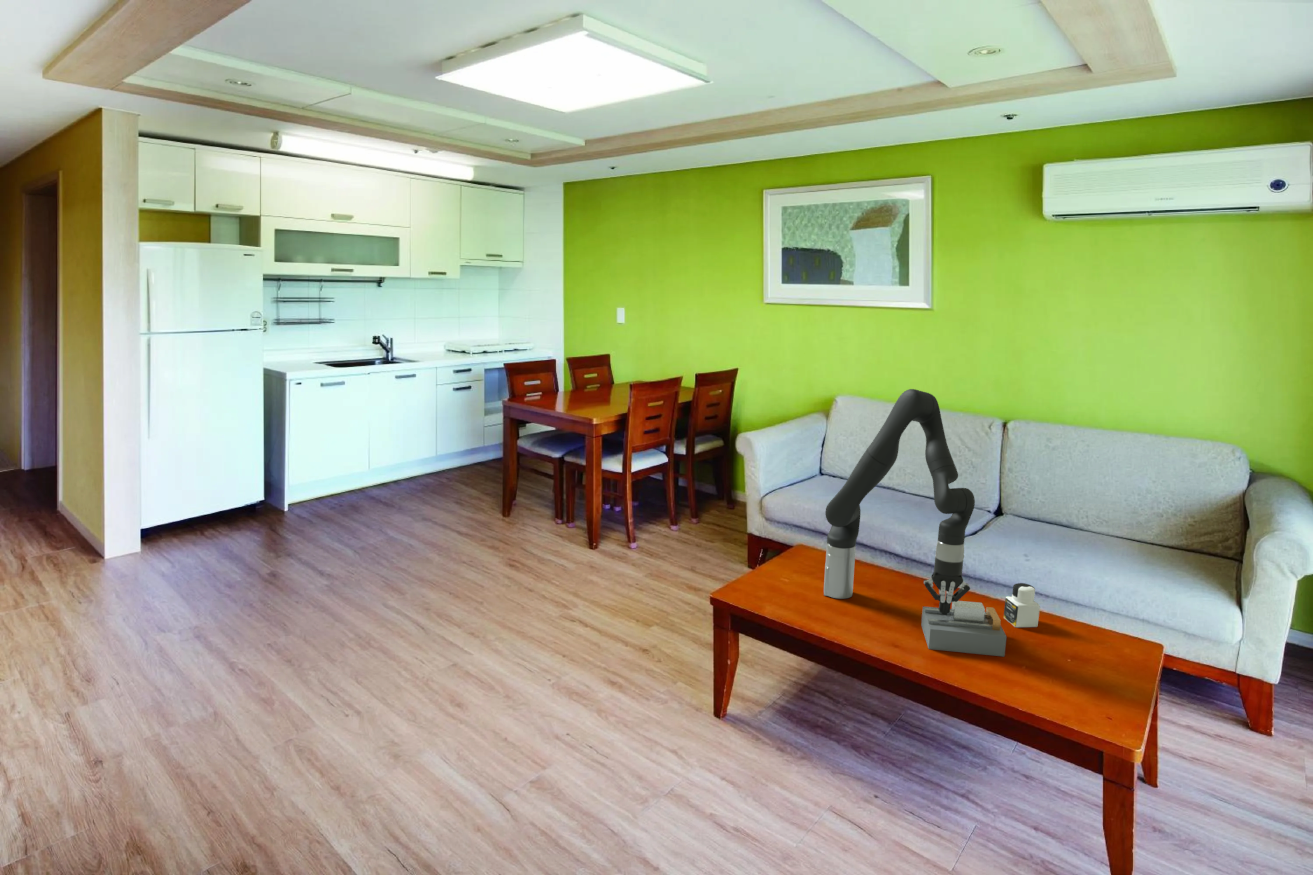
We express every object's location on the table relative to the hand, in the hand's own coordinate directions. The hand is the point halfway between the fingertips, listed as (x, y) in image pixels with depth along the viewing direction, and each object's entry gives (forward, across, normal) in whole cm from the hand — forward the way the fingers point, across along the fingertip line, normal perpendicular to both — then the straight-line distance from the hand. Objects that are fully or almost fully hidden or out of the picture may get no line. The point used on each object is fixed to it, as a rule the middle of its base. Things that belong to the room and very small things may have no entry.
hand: (943, 613), depth 222 cm
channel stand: (+8, -5, 0) cm, 9 cm away
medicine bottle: (+8, -25, -17) cm, 32 cm away
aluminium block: (+2, -6, 0) cm, 7 cm away
